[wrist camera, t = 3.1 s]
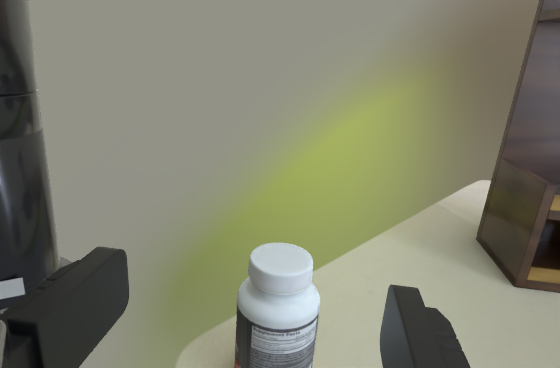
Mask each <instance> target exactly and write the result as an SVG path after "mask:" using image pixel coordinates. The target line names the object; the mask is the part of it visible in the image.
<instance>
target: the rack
mask: <svg viewBox="0 0 560 368" xmlns="http://www.w3.org/2000/svg"><path fill="white" fill-rule="evenodd" d="M476 239H477V240H478V241H479V243H480V244H481V245H482V246H483V248H484V249H485V250H486V251H487V253H488V254H489V255H490V256H491V258H492V259H493V260H494V261H495V263H496V264H497V265H498V267H499V268H500V269H501V270H502V272H503V273H504V274H505V275H506V277H507V278H508V279H509V280H510V282H511V283H512V284H513V285H514V286H515V287H522V288H530V289H538V290H545V291H553V292H560V0H539V3H538V7H537V11H536V15H535V19H534V22H533V26H532V30H531V34H530V37H529V41H528V45H527V49H526V53H525V56H524V60H523V64H522V68H521V71H520V75H519V79H518V83H517V87H516V90H515V94H514V97H513V101H512V105H511V109H510V112H509V116H508V120H507V124H506V128H505V131H504V135H503V139H502V143H501V146H500V150H499V154H498V158H497V162H496V166H495V169H494V173H493V177H492V180H491V184H490V188H489V191H488V195H487V199H486V203H485V207H484V210H483V214H482V218H481V222H480V225H479V229H478V233H477V237H476Z"/></svg>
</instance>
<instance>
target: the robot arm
mask: <svg viewBox="0 0 560 368" xmlns="http://www.w3.org/2000/svg"><path fill="white" fill-rule="evenodd" d="M128 299H129V283H128V268H127V256H126V253H125V251H124V250H122V249H114V248H107V247H97V248H95V249H94V250H93V251H91V252H90V253H89V254H87V255H86V256H85V257H84V258H82V259H81V260H77V261H75V262H73V263H71V264H68V265H66V266H64V267H62V265H61V262H60V255H59V247H58V239H57V232H56V224H55V216H54V209H53V201H52V194H51V187H50V179H49V171H48V164H47V156H46V149H45V142H44V135H43V128H42V121H41V114H40V106H39V99H38V91H37V82H36V75H35V61H34V45H33V35H32V27H31V19H30V7H29V0H0V368H79V366H80V365H81V364H82V363H83V362H84V360H85V359H86V358H87V357H88V355H89V354H90V353H91V352H92V351H93V349H94V348H95V347H96V346H97V344H98V343H99V342H100V341H101V340H102V338H103V337H104V336H105V335H106V334H107V332H108V331H109V330H110V329H111V328H112V326H113V325H114V324H115V323H116V321H117V320H118V319H119V318H120V316H121V315H122V314H123V313H124V311H125V309H126V306H127V304H128ZM380 352H381V358H382V364H383V368H470V365H469V363H468V361H467V359H466V357H465V354H464V352H463V351H462V348H461V346H460V343H459V341H458V339H456V334H455V332H454V330H453V328H452V326H451V323H450V322H449V321H448V320H447V319H446V318H445V317H444V316H443V315H442V314H441V313H440V312H439V311H438V310H437V309H436V308H429V307H425V305H424V302H423V300H422V297H421V295H420V292H419V290H418V288H414V287H406V286H398V285H390V286H389V289H388V294H387V299H386V304H385V310H384V315H383V321H382V326H381V333H380Z"/></svg>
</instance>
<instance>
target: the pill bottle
mask: <svg viewBox="0 0 560 368" xmlns="http://www.w3.org/2000/svg"><path fill="white" fill-rule="evenodd" d="M312 270H313V259H312V257H311V255H310V254H309V253H308V252H307V251H306V250H305V249H302V248H301V247H299V246H295V245H292V244H287V243H269V244H264V245H261V246H259V247H257V248H255V249H254V250H253V251H252V252H251V255H250V259H249V269H248V273H249V277H248V278H247V279H246V280H245V281H244V282H243V283H242V285H241V286H240V289H239V291H238V297H237V322H236V324H237V326H236V343H235V368H312V364H313V355H314V348H315V340H316V332H317V325H318V316H319V308H320V297H319V293H318V291H317V289H316V287H315V286H314V285H313V283H312V282H311V281H312V277H313V275H312Z"/></svg>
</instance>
